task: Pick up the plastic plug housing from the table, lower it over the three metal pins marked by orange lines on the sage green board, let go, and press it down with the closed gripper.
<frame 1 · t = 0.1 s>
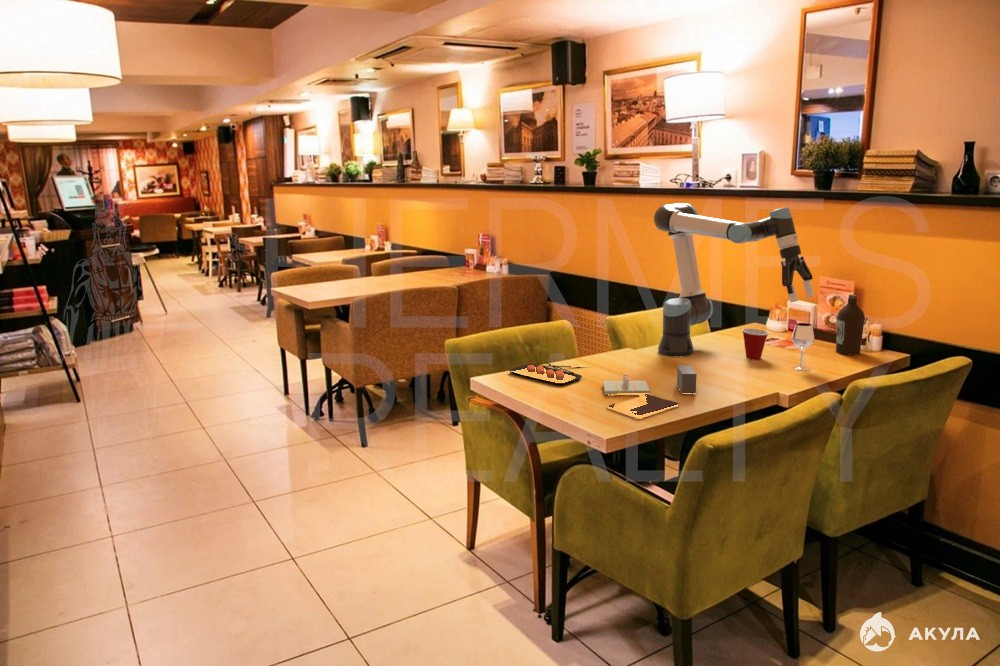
hand: (802, 299, 281), 28 cm above the table, tool tilted 20°, fingers open, 13 cm apart
wineglass: (800, 368, 286), on the table
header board: (625, 390, 265), on the table
notebook: (642, 409, 247), on the table
olive oil: (847, 352, 306), on the table
sushi plate: (557, 373, 291), on the table
plug housing: (686, 390, 263), on the table
plastic cup: (754, 358, 302), on the table
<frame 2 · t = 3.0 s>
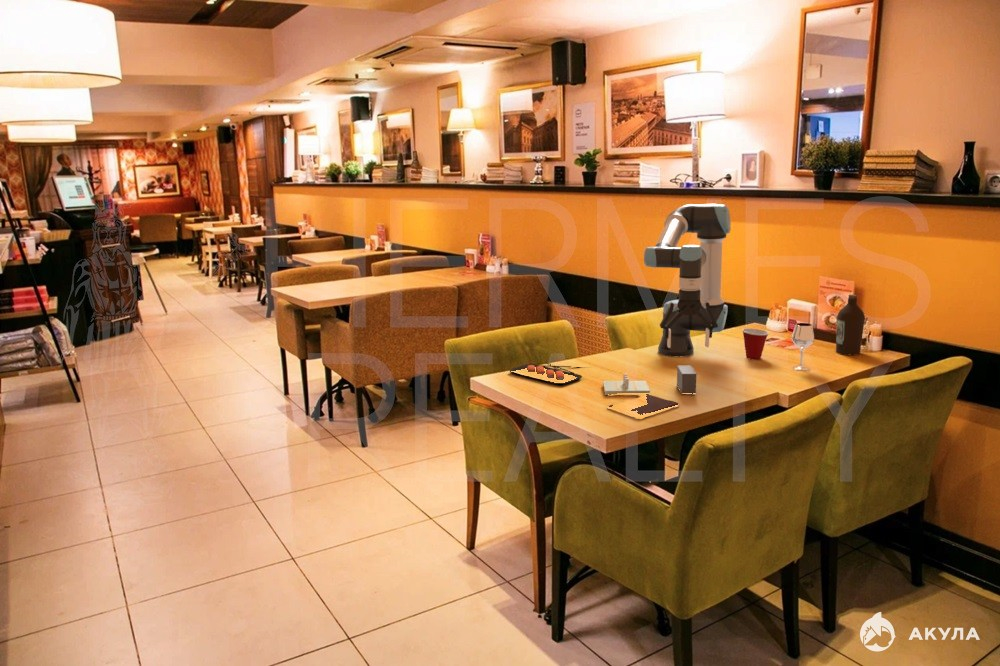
hand: (687, 346, 259), 17 cm above the table, tool pointing down, fingers open, 13 cm apart
nothing on the table moved.
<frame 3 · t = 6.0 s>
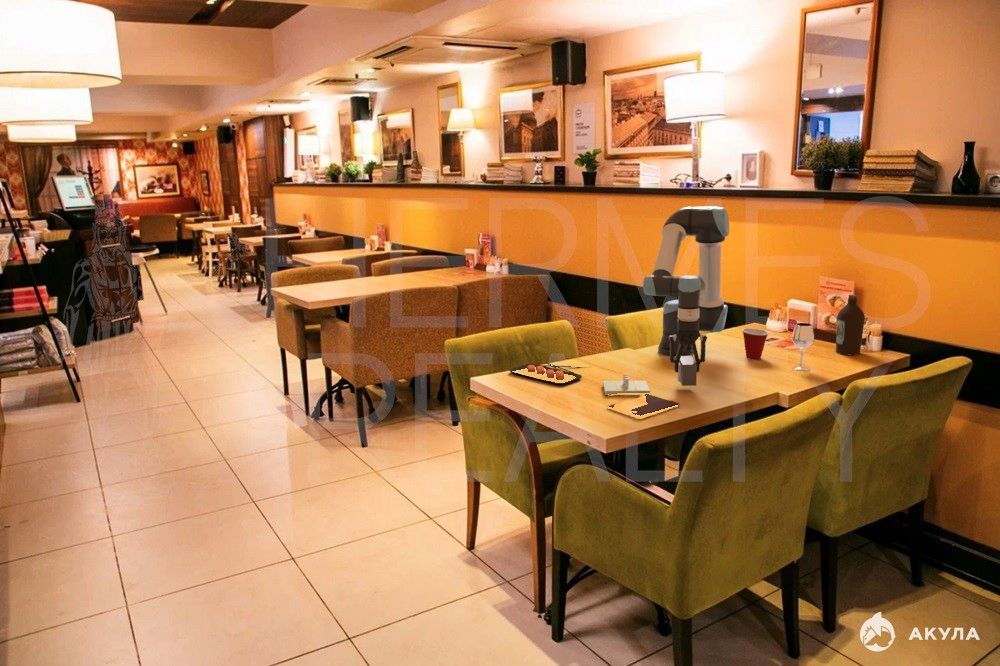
hand: (686, 380, 263), 4 cm above the table, tool pointing down, fingers closed on plug housing, 5 cm apart
plug housing: (686, 381, 263), point 3 cm above the table, touching gripper
everything else where it was.
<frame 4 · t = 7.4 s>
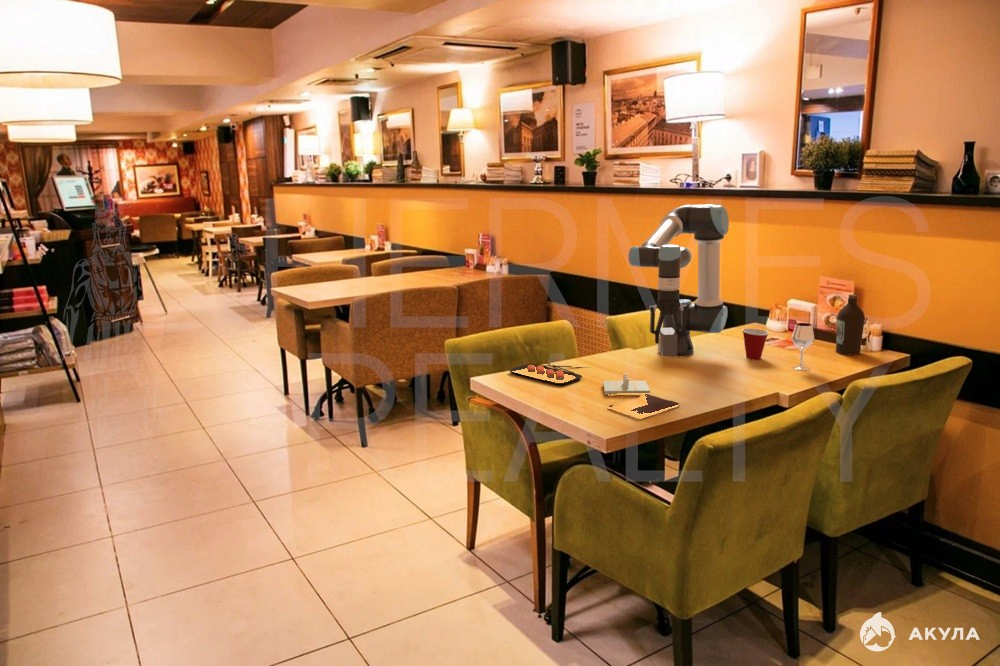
hand: (667, 351, 260), 15 cm above the table, tool pointing down, fingers closed on plug housing, 5 cm apart
plug housing: (667, 352, 260), point 15 cm above the table, touching gripper
everything else where it was.
when the fingers open (3 cm above the table, at t = 10.4 s): plug housing stays where it is, resting on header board.
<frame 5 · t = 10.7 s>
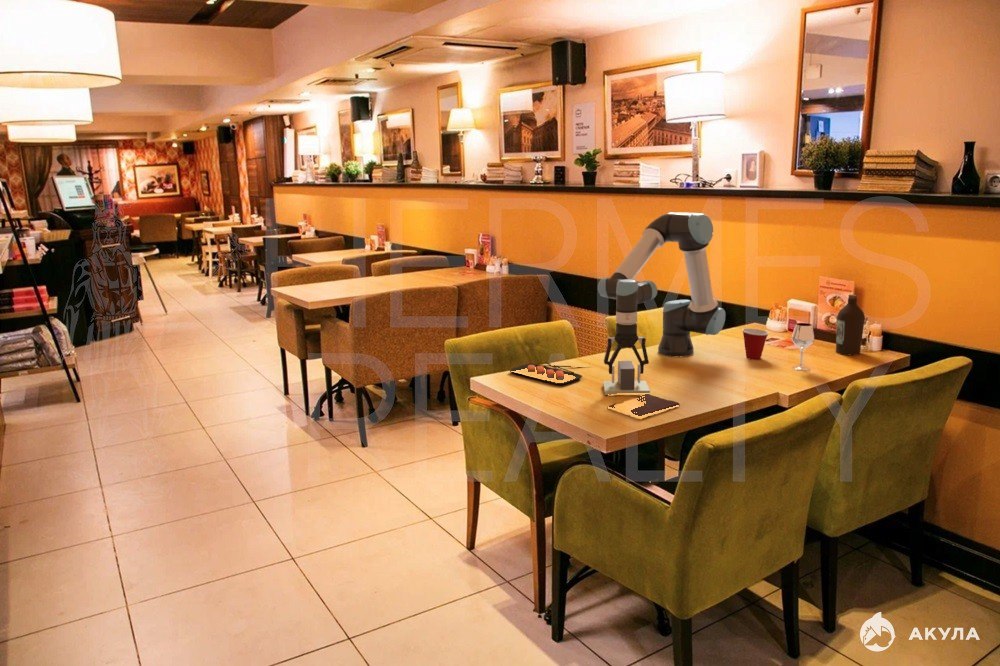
hand: (625, 382, 264), 3 cm above the table, tool pointing down, fingers open, 9 cm apart
plug housing: (625, 385, 265), point 2 cm above the table, touching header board
everything else where it was.
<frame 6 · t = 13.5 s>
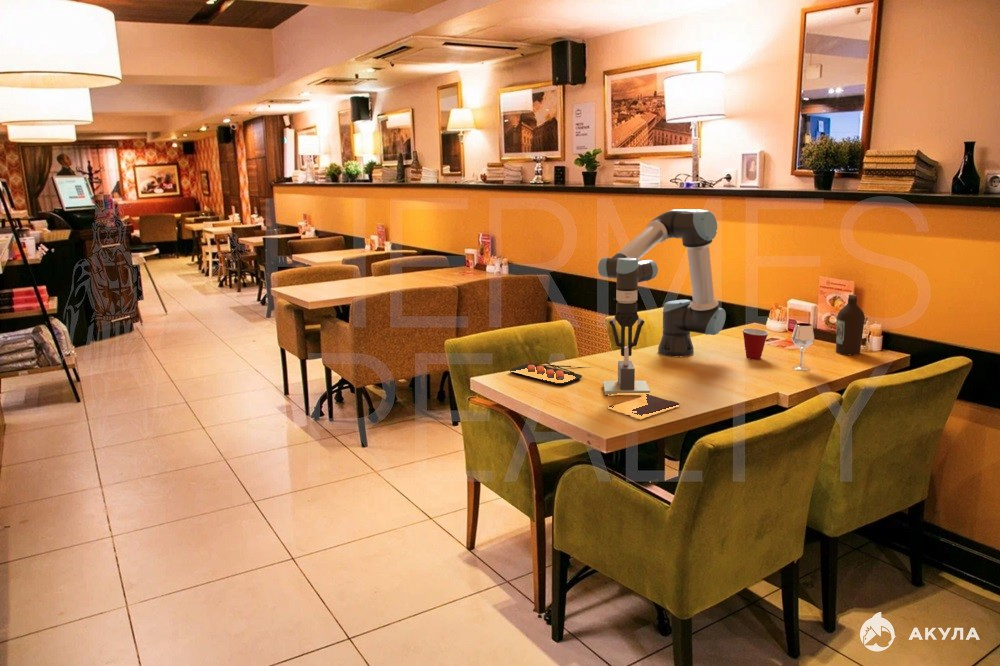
hand: (626, 364, 262), 10 cm above the table, tool pointing down, fingers closed
plug housing: (625, 385, 265), point 2 cm above the table, touching gripper, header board
everything else where it was.
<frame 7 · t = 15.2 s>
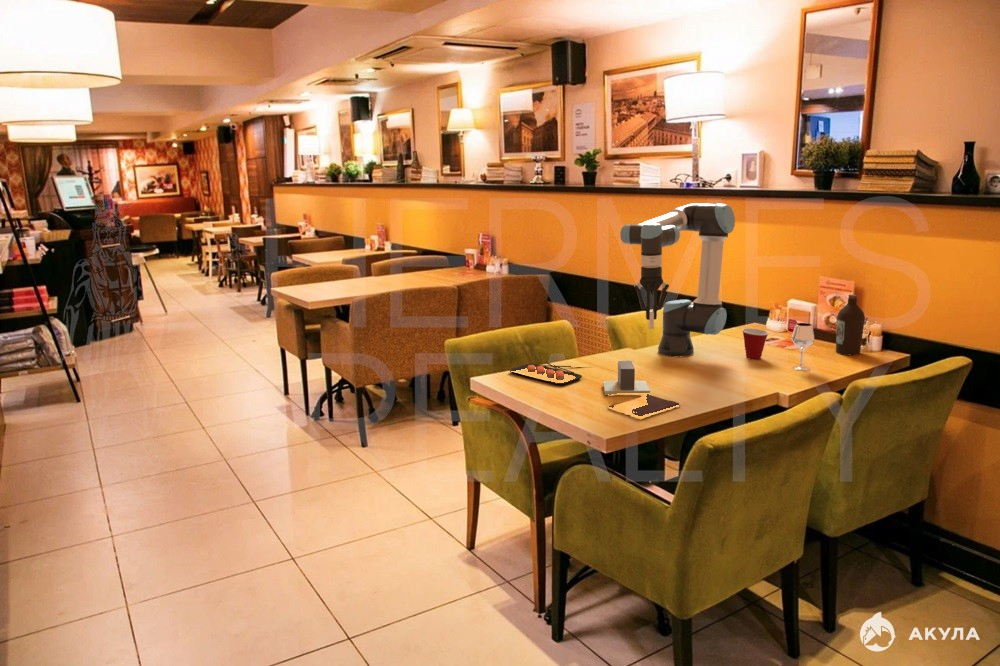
hand: (651, 327, 269), 21 cm above the table, tool pointing down, fingers closed
plug housing: (625, 385, 265), point 2 cm above the table, touching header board
everything else where it was.
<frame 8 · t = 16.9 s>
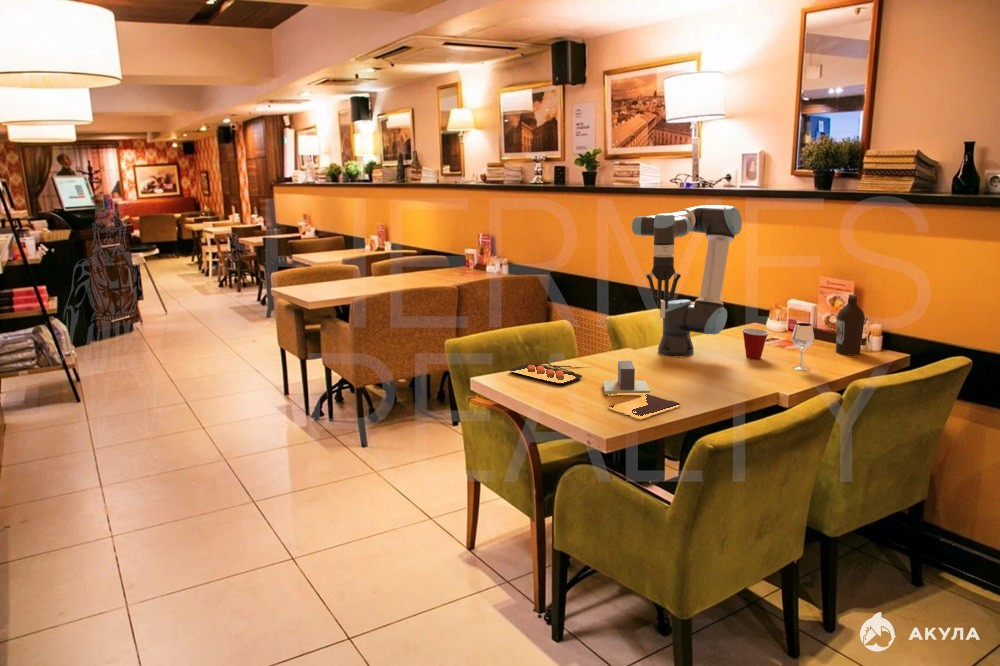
hand: (662, 317, 273), 24 cm above the table, tool pointing down, fingers closed
nothing on the table moved.
at the end: plug housing 0.2 cm off-centre on the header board, point 2.0 cm above the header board's base; plug housing tilted 0°; the gripper is holding nothing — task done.
